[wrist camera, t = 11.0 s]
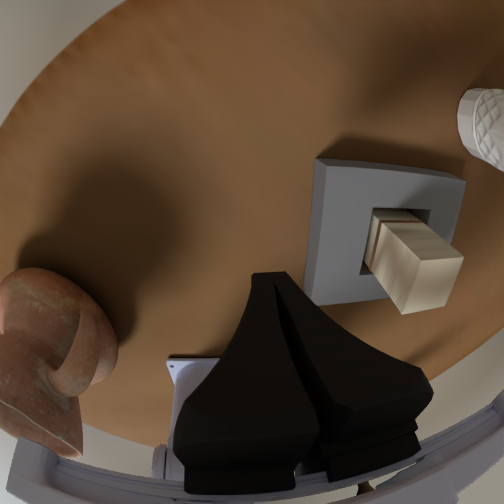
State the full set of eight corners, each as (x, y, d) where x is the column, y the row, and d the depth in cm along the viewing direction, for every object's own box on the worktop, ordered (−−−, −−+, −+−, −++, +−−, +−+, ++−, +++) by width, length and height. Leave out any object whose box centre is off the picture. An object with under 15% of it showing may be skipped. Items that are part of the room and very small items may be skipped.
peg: (395, 250, 23) (444, 306, 16) (356, 252, 22) (401, 315, 15) (405, 208, 21) (464, 256, 14) (364, 207, 20) (420, 259, 13)
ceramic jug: (65, 367, 28) (37, 457, 16) (-9, 286, 21) (-66, 373, 9) (169, 336, 26) (155, 472, 14) (78, 215, 19) (-27, 345, 7)
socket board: (421, 276, 25) (433, 291, 22) (303, 287, 24) (310, 306, 21) (448, 172, 19) (466, 181, 17) (315, 158, 18) (326, 165, 16)
